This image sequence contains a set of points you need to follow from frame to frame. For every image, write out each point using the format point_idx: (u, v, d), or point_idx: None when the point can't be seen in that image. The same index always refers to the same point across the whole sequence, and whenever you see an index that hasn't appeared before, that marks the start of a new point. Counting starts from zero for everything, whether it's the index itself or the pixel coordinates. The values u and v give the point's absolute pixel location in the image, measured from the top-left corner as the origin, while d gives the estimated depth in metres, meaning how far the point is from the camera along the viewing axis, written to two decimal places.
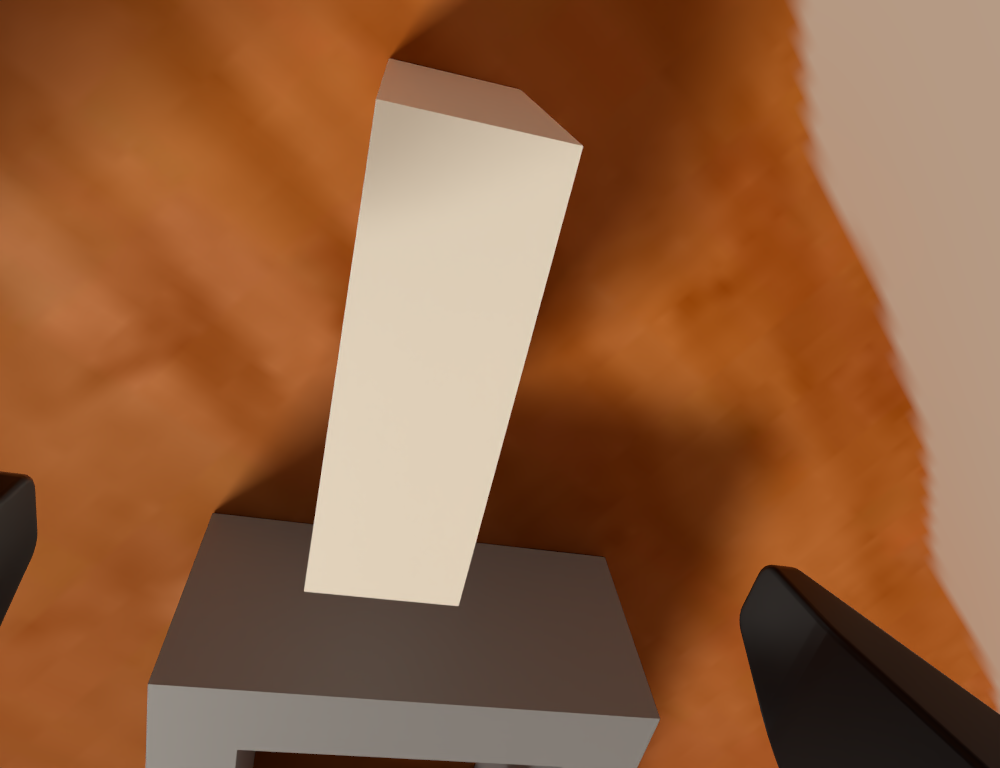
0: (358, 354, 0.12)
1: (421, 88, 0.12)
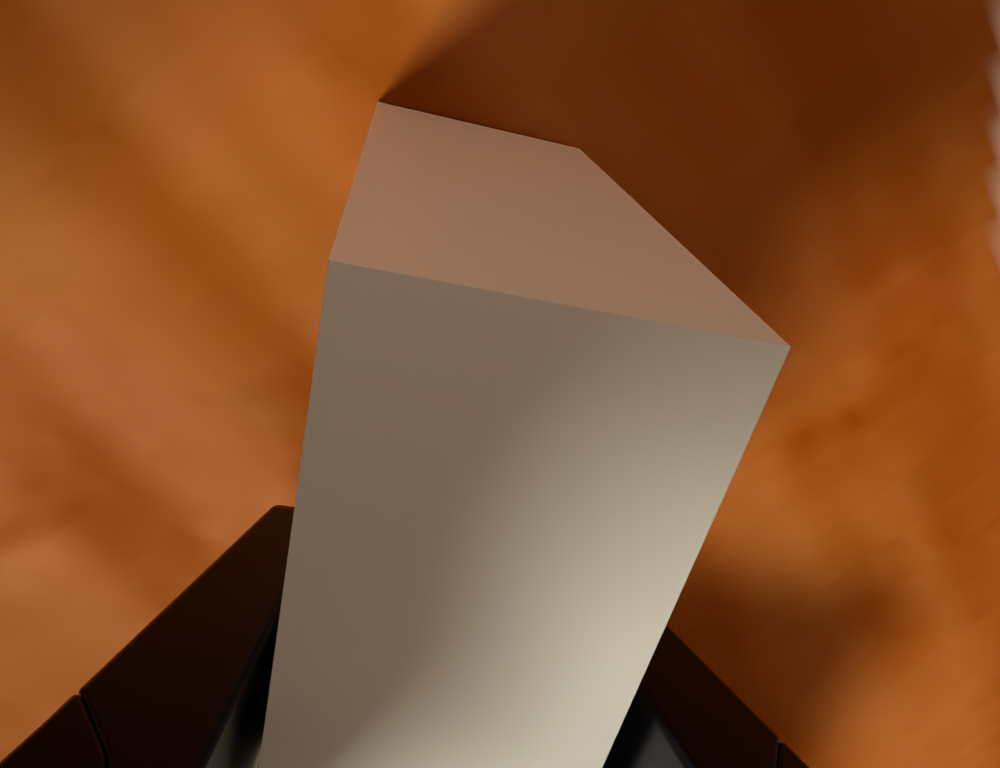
0: (305, 717, 0.06)
1: (431, 184, 0.07)
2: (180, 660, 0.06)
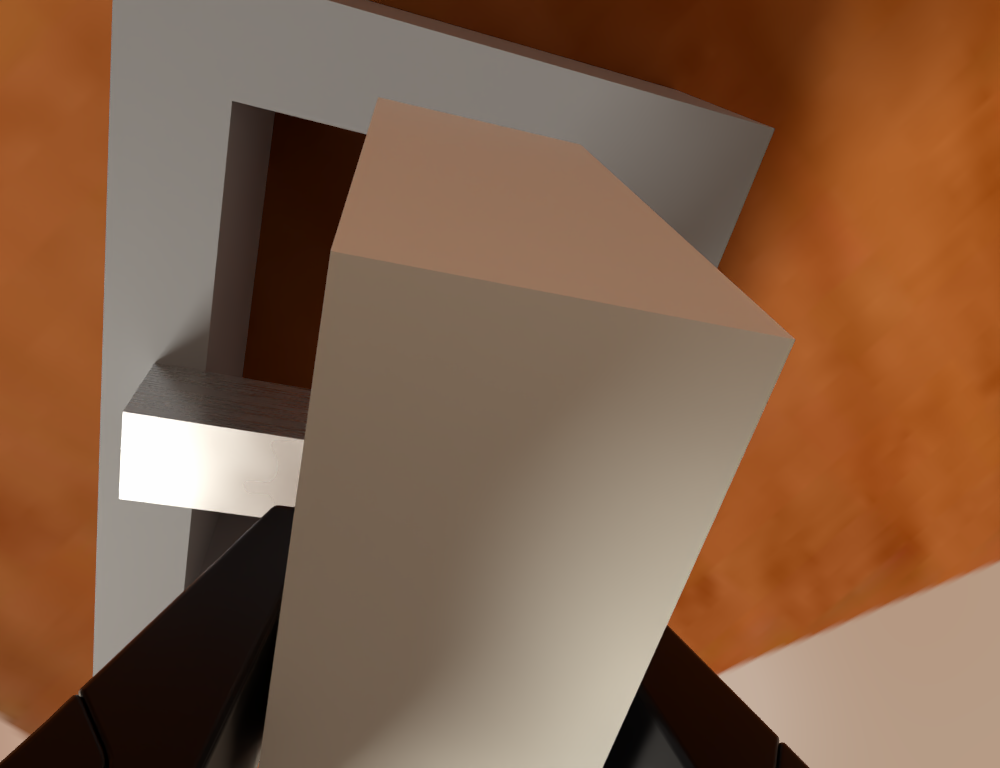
0: (305, 713, 0.06)
1: (432, 177, 0.07)
2: (180, 660, 0.06)
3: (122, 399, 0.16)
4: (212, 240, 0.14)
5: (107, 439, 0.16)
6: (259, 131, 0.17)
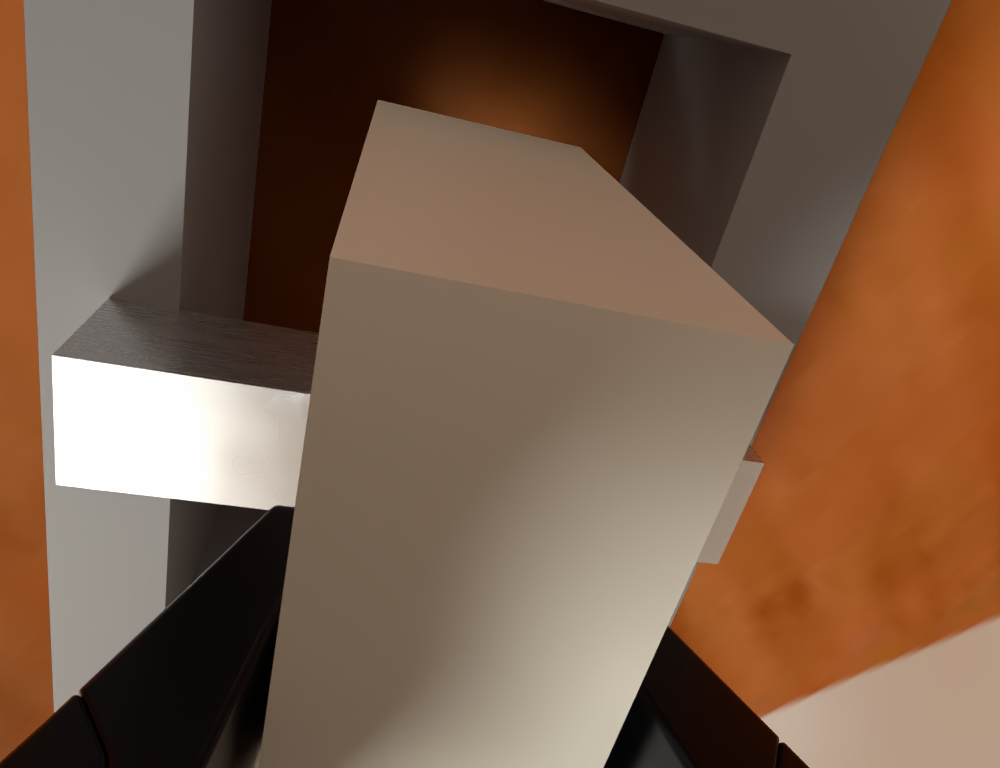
0: (305, 717, 0.06)
1: (432, 181, 0.07)
2: (180, 660, 0.06)
3: None
4: (179, 114, 0.10)
5: (51, 408, 0.12)
6: None
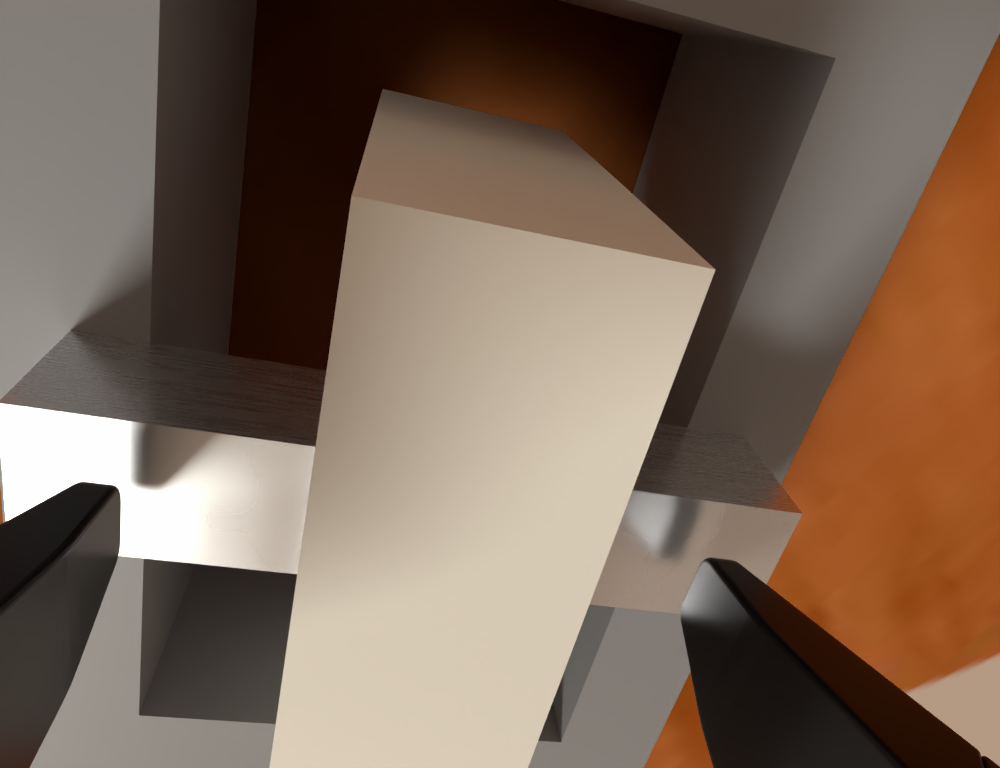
0: (327, 589, 0.07)
1: (430, 151, 0.08)
2: None
3: None
4: (146, 126, 0.09)
5: None
6: None
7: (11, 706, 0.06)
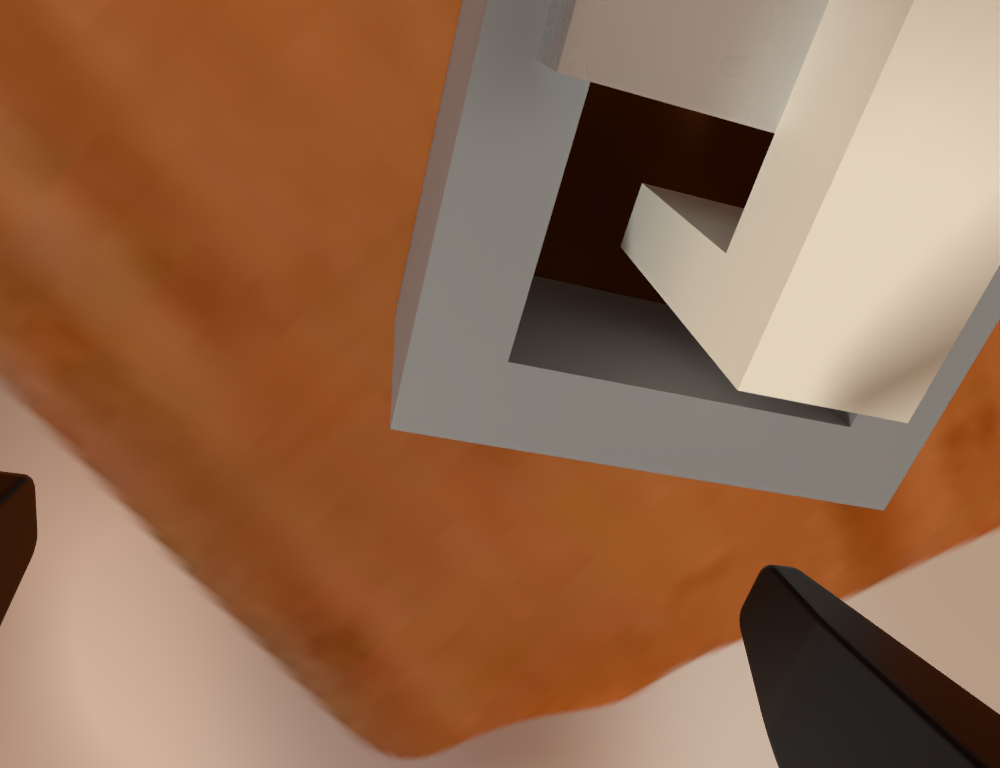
0: (927, 26, 0.09)
1: None
2: None
3: None
4: None
5: (485, 50, 0.12)
6: None
7: None
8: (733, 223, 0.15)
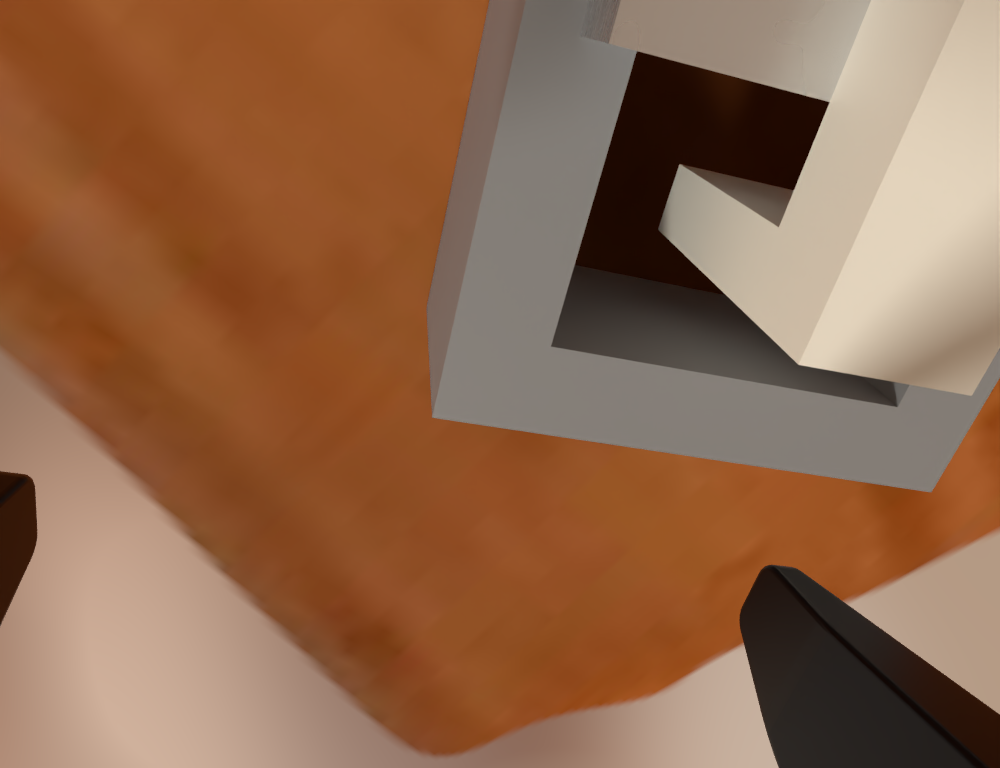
0: None
1: None
2: None
3: None
4: None
5: (529, 27, 0.12)
6: None
7: None
8: (777, 200, 0.15)
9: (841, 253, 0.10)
